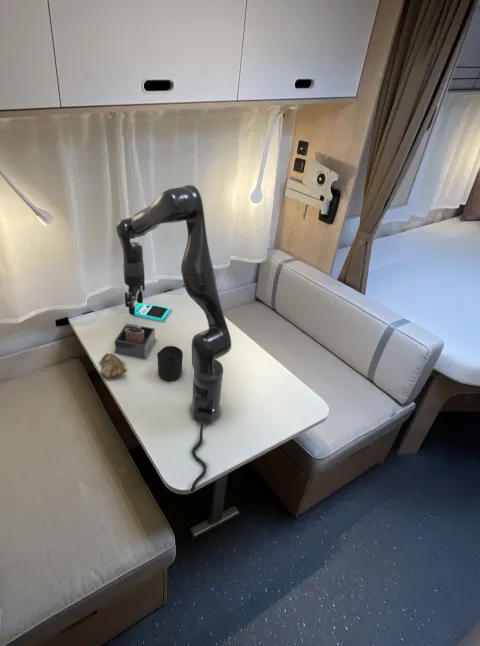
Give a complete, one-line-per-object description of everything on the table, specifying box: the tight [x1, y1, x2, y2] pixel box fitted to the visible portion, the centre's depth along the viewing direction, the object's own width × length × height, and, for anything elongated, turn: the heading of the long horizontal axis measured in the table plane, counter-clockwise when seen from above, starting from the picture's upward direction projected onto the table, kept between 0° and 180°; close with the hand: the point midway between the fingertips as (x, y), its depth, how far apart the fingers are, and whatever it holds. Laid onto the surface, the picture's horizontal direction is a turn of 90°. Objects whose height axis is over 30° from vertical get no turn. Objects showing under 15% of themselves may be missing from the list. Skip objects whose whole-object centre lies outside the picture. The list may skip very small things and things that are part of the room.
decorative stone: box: [100, 352, 128, 378], centre depth 152 cm, size 10×4×15 cm
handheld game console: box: [133, 302, 171, 322], centre depth 186 cm, size 10×16×1 cm, turn 70°
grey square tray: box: [114, 323, 156, 360], centre depth 163 cm, size 12×13×6 cm
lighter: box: [125, 323, 144, 345], centre depth 162 cm, size 8×3×10 cm, turn 77°
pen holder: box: [156, 345, 184, 383], centre depth 148 cm, size 9×9×10 cm
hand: (136, 308), depth 154 cm, fingers open, 8 cm apart
